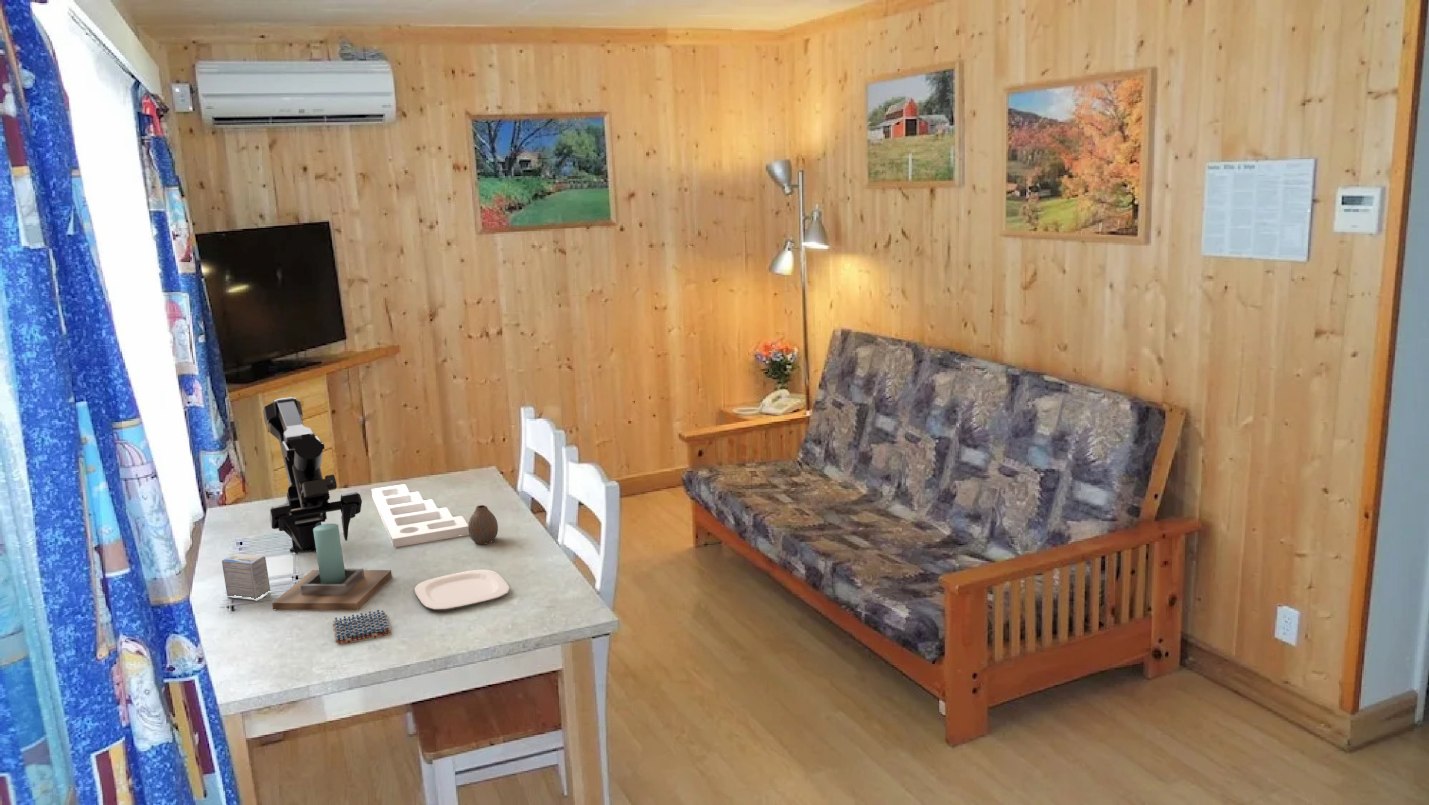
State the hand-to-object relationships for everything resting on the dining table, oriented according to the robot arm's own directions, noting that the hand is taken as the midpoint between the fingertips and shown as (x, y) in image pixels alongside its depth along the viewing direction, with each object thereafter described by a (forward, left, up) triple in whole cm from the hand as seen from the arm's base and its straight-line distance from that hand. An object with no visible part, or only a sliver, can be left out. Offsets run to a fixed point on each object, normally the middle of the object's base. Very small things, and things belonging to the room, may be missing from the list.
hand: (324, 544), depth 228 cm
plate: (+32, -5, -9) cm, 34 cm away
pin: (+4, -5, -7) cm, 10 cm away
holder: (+3, +46, -10) cm, 47 cm away
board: (+4, -5, -9) cm, 11 cm away
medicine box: (-14, -7, -9) cm, 18 cm away
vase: (+27, +26, -9) cm, 38 cm away
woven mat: (+18, -24, -10) cm, 31 cm away
